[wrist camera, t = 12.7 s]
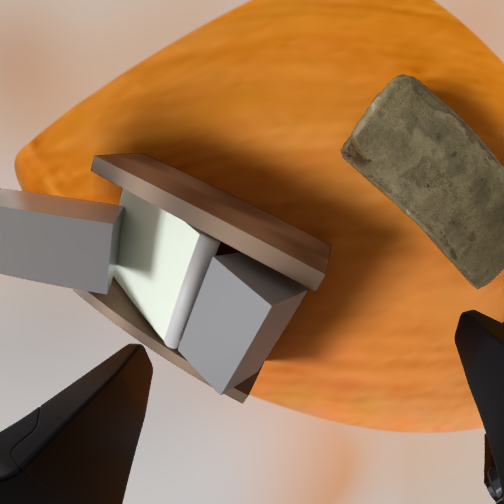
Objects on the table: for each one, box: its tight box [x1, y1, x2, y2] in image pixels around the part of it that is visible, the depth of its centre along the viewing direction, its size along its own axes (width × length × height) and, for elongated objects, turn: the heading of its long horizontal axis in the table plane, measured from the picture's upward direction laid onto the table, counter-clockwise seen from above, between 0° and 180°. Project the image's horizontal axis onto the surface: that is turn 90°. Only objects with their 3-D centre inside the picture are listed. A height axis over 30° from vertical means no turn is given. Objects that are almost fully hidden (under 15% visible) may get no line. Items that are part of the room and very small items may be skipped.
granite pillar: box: [0, 188, 124, 294], centre depth 16 cm, size 5×5×13 cm
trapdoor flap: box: [114, 189, 308, 395], centre depth 19 cm, size 14×8×4 cm, turn 67°
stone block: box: [341, 74, 504, 290], centre depth 13 cm, size 6×12×5 cm, turn 55°
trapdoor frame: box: [73, 153, 331, 403], centre depth 19 cm, size 15×11×5 cm
